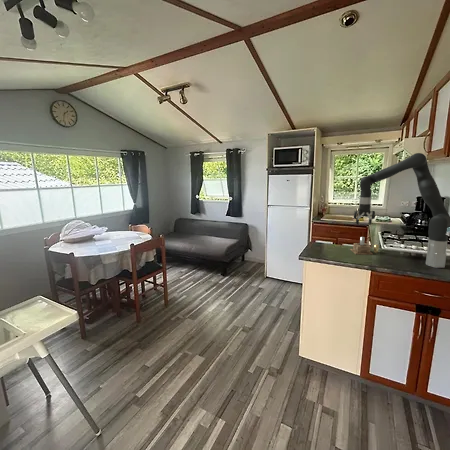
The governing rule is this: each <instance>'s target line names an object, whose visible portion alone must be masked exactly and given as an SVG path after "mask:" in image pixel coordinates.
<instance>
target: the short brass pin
mask: <svg viewBox="0 0 450 450" xmlns="http://www.w3.org/2000/svg"><path fill="white" fill-rule="evenodd" d="M379 247H380V246H379V244H377V243H376V244H374V245H373V254H379Z"/></svg>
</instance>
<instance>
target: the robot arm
mask: <svg viewBox="0 0 450 450" xmlns="http://www.w3.org/2000/svg"><path fill="white" fill-rule="evenodd" d="M409 169H412V171H413V172H414V175H415V177H416V181H417V186H418V190H419V193H420V195H421V196H420V197H421V198H422V200H423V201H424V203H425V204H426V205H427V206H428V207H429V209H430V211H431V215H432V217H431V218H430V220H429V223H428V231H427V233H428V240H427V241H428V242H427V249H426V258H425V265H426V266H429V267H432V268H437V269H438V268H442V269H444V268H446V267H445V266H446V260H447V247H448V238H449V237H448V234H447V232H448V229H449V228H450V214H449V212H448V211H447V209H446V207H445V204H444V201H443V197H442V196H441V193H440V189H439V187H438V184H437V183H436V181H435V179H434V177H433V175H432V173H431V172H430V169H429V165H428V159H427V156H426V155H425V154H424V153H422V152H416V153H414V154H412V155H410V156H409V157H406V158H405V159H402V160H401V161H399V162H397V163H395V164H393V165H390V166H387V167H385V168H383V169H381V170H378V171H375V172H374V173H372V174H369V175H365V176H362V177H361V179H360V182H359V183H360V195H359V197H360V198H359V202H358V203H359V206H358V211H357V210H354V211H353V219H354V220H355V224H356V225H357V226H359V223H360V219H361V218H365V217H366V218H368V225H369V226H370V225H372V223H373V222H372V221H373V220H374V219H376V212H375V210H371V205H372V189H371V187H372V185H373V184H376V183H377V182H380V181H384V180H386V179H389V178H391V177H393V176H395V175H396V174H399V173H401V172H403V171H405V170H409ZM370 214H371V215H370Z"/></svg>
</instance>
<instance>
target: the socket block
mask: <svg viewBox="0 0 450 450" xmlns="http://www.w3.org/2000/svg"><path fill="white" fill-rule="evenodd" d="M352 246H353V248H350V251H351V252H352V253H353V254H355V255H366V256H367V255H374V252H372V251H371V246H370V245H369V244H368V243H366V242H364V246H360V242H358V243H357V242H355V243H353V245H352Z"/></svg>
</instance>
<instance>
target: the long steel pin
mask: <svg viewBox="0 0 450 450" xmlns="http://www.w3.org/2000/svg"><path fill="white" fill-rule="evenodd" d="M359 238H360V239H359V243H360V246H364V243H365V241H366V240H365V238H366V237H364V236H360V237H359Z"/></svg>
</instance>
